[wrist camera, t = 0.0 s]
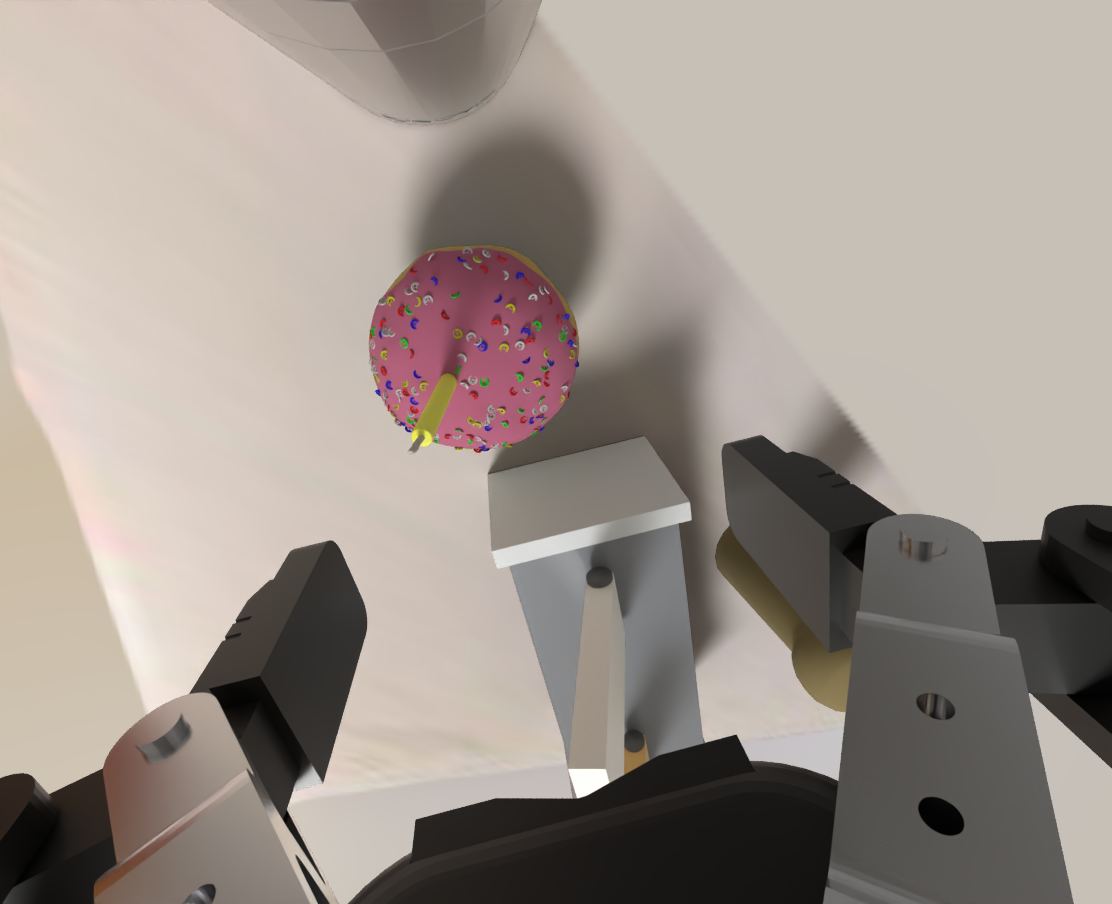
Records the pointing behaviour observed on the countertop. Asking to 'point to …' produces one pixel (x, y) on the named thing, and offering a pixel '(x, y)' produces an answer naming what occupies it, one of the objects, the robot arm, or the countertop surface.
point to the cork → (787, 626)
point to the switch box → (639, 571)
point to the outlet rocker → (634, 750)
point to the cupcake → (473, 348)
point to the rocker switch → (599, 689)
